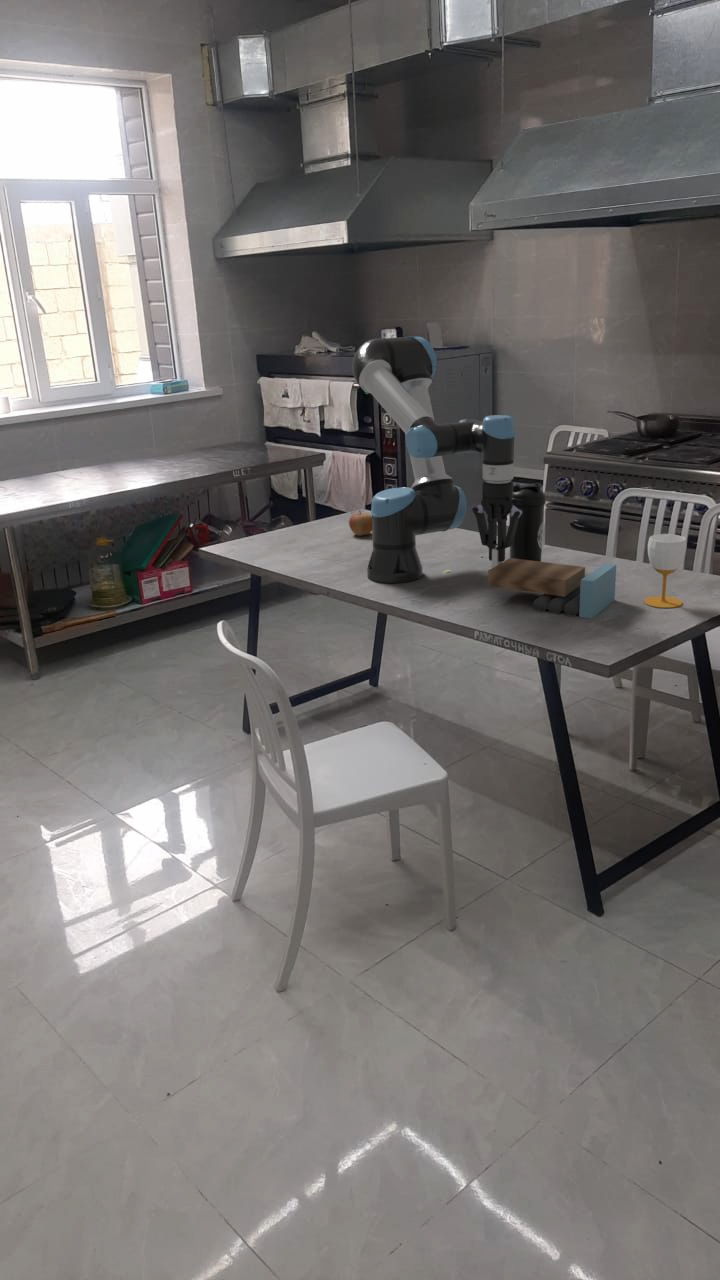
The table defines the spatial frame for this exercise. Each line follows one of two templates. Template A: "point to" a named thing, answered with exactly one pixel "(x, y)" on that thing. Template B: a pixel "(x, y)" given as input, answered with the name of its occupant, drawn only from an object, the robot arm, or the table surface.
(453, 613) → the table surface
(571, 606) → the cylinder
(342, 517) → the table surface
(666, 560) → the cup
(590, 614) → the block
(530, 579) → the slab
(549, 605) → the roller mid
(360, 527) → the apple
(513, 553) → the water bottle
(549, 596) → the roller rear
